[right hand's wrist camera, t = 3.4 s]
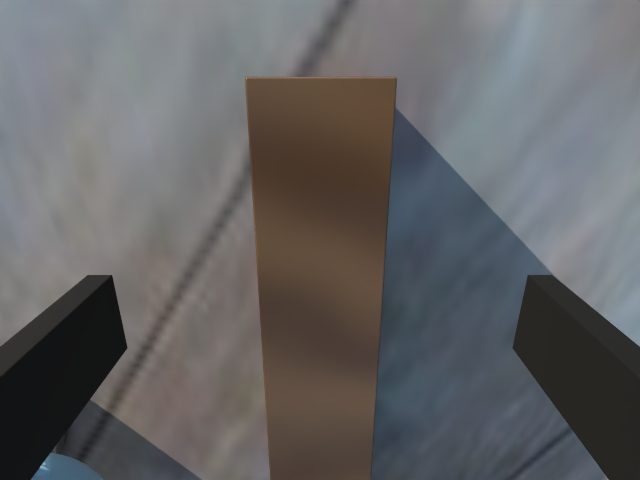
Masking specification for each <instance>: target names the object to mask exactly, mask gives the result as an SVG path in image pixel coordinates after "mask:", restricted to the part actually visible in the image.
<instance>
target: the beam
mask: <svg viewBox="0 0 640 480" xmlns="http://www.w3.org/2000/svg"><path fill="white" fill-rule="evenodd" d="M245 85H246V101H247V116H248V132H249V148H250V164H251V180H252V195H253V211H254V227H255V243H256V259H257V274H258V290H259V306H260V322H261V338H262V353H263V369H264V385H265V401H266V417H267V432H268V448H269V464H270V480H371V470H372V454H373V439H374V424H375V408H376V393H377V378H378V362H379V347H380V332H381V316H382V301H383V285H384V270H385V255H386V239H387V224H388V209H389V193H390V178H391V163H392V147H393V132H394V116H395V101H396V86H397V78H396V77H246V78H245Z"/></svg>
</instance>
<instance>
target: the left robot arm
mask: <svg viewBox="0 0 640 480" xmlns="http://www.w3.org/2000/svg"><path fill="white" fill-rule="evenodd" d="M65 439H66V433H65V434H64V435H63V437H62V438H61V439H60V441H59V442H58V443H57V445H56V446H55V448H54V449H53V450H52V452H51V453H50V454H49V456H48V457H47V458H46V460H45V461H44V463H43V464H42V465H41V467H40V468H39V469H38V471H37V472H36V474H35V475H34V476H33V478H32V479H31V480H104V479H103V478H102V477H101V476H100V475H99V474H98V473H97V472H96V471H94V470H93V469H92V468H90V467H89V466H87V465H86V464H84V463H82V462H80V461H78V460H76V459H74V458H71V457H68V456H64V455H61V454H60V453H61V451H62V449H63V446H64V443H65Z"/></svg>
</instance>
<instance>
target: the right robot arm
mask: <svg viewBox="0 0 640 480" xmlns="http://www.w3.org/2000/svg"><path fill="white" fill-rule="evenodd" d="M126 349H127V344H126V339H125V334H124V330H123V325H122V320H121V315H120V311H119V306H118V301H117V296H116V292H115V287H114V282H113V277H112V275H87V276H86V277H85V278H84V279H83V280H81V281H80V282H79V283H78V284H76V285H75V286H74V287H73V288H72V289H70V290H69V291H68V292H67V293H65V294H64V295H63V296H62V297H61V298H59V299H58V300H57V301H56V302H54V303H53V304H52V305H51V306H50V307H48V308H47V309H46V310H45V311H43V312H42V313H41V314H40V315H39V316H37V317H36V318H35V319H34V320H32V321H31V322H30V323H29V324H28V325H26V326H25V327H24V328H23V329H22V330H20V331H19V332H18V333H17V334H15V335H14V336H13V337H12V338H11V339H9V340H8V341H7V342H6V343H4V344H3V345H2V346H1V347H0V480H31V479H32V478H33V476H34V475H35V474H36V472H37V471H38V469H39V468H40V467H41V465H42V464H43V463H44V461H45V460H46V458H47V457H48V456H49V454H50V453H51V452H52V450H53V449H54V448H55V446H56V445H57V443H58V442H59V441H60V439H61V438H62V437H63V435H64V434H65V433H66V431H67V430H68V428H69V427H70V426H71V424H72V423H73V422H74V420H75V419H76V418H77V416H78V415H79V413H80V412H81V411H82V409H83V408H84V407H85V405H86V404H87V402H88V401H89V400H90V398H91V397H92V396H93V394H94V393H95V392H96V390H97V389H98V387H99V386H100V385H101V383H102V382H103V381H104V379H105V378H106V377H107V375H108V374H109V372H110V371H111V370H112V368H113V367H114V366H115V364H116V363H117V361H118V360H119V359H120V357H121V356H122V355H123V353H124V352H125V351H126ZM513 349H514V351H515V352H516V353H517V355H518V356H519V357H520V359H521V360H522V362H523V363H524V364H525V366H526V367H527V368H528V370H529V371H530V372H531V374H532V375H533V377H534V378H535V379H536V381H537V382H538V383H539V385H540V386H541V387H542V389H543V390H544V392H545V393H546V394H547V396H548V397H549V398H550V400H551V401H552V402H553V404H554V405H555V407H556V408H557V409H558V411H559V412H560V413H561V415H562V416H563V418H564V419H565V420H566V422H567V423H568V424H569V426H570V427H571V428H572V430H573V431H574V433H575V434H576V435H577V437H578V438H579V439H580V441H581V442H582V443H583V445H584V446H585V448H586V449H587V450H588V452H589V453H590V454H591V456H592V457H593V458H594V460H595V461H596V463H597V464H598V465H599V467H600V468H601V469H602V471H603V472H604V474H605V475H606V476H607V478H608V479H609V480H640V347H639V346H638V345H637V344H636V343H634V342H633V341H632V340H631V339H629V338H628V337H627V336H626V335H625V334H623V333H622V332H621V331H620V330H618V329H617V328H616V327H615V326H614V325H612V324H611V323H610V322H609V321H608V320H606V319H605V318H604V317H603V316H601V315H600V314H599V313H598V312H597V311H595V310H594V309H593V308H592V307H590V306H589V305H588V304H587V303H586V302H584V301H583V300H582V299H581V298H579V297H578V296H577V295H576V294H575V293H573V292H572V291H571V290H570V289H568V288H567V287H566V286H565V285H564V284H562V283H561V282H560V281H559V280H557V279H556V278H555V277H554V276H553V275H528V277H527V282H526V287H525V292H524V296H523V301H522V306H521V311H520V315H519V320H518V325H517V330H516V334H515V339H514V344H513Z"/></svg>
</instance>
